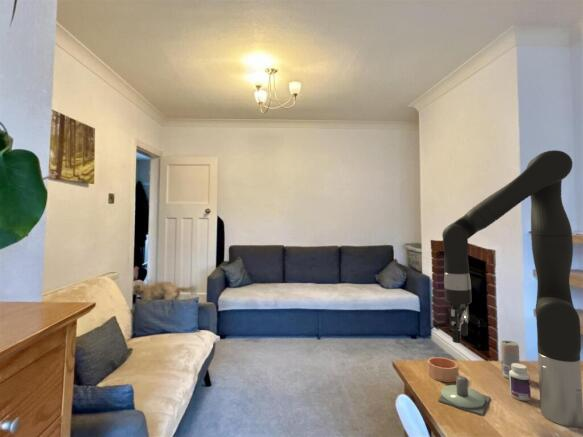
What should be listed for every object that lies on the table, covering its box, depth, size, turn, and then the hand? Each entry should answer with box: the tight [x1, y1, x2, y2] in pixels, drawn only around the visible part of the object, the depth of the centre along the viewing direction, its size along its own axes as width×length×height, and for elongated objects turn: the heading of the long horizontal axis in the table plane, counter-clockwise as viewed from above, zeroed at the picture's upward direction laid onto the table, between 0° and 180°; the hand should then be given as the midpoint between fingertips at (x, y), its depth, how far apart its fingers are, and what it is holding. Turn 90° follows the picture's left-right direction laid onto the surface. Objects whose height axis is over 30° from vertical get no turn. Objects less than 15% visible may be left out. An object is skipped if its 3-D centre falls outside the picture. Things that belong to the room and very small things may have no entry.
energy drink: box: [500, 340, 521, 380], centre depth 113 cm, size 5×5×12 cm
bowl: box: [426, 356, 460, 383], centre depth 115 cm, size 10×10×5 cm
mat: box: [437, 393, 491, 417], centre depth 99 cm, size 12×12×1 cm
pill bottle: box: [508, 363, 532, 402], centre depth 100 cm, size 5×5×10 cm
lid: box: [440, 375, 485, 408], centre depth 99 cm, size 12×12×6 cm
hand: (460, 338), depth 99 cm, fingers open, 8 cm apart
